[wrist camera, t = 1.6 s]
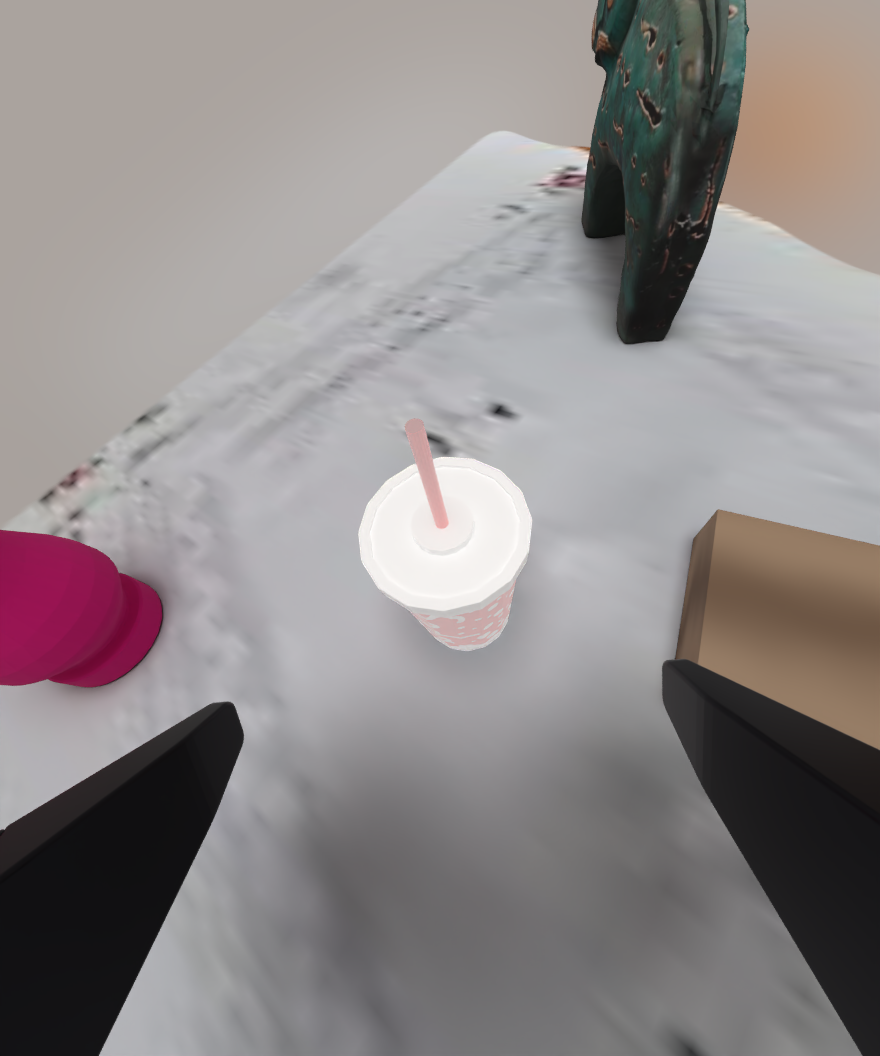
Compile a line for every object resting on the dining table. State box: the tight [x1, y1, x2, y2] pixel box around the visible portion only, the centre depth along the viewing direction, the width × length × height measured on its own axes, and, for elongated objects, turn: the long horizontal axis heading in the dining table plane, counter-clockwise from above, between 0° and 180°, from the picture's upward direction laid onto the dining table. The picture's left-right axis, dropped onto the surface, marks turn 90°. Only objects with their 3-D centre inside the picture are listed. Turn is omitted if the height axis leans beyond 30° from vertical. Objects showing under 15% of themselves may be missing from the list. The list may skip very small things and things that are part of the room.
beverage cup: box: [358, 419, 532, 651], centre depth 16 cm, size 6×6×14 cm
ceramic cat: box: [582, 0, 749, 343], centre depth 26 cm, size 20×6×20 cm, turn 179°
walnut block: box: [675, 509, 880, 750], centre depth 18 cm, size 9×9×3 cm
